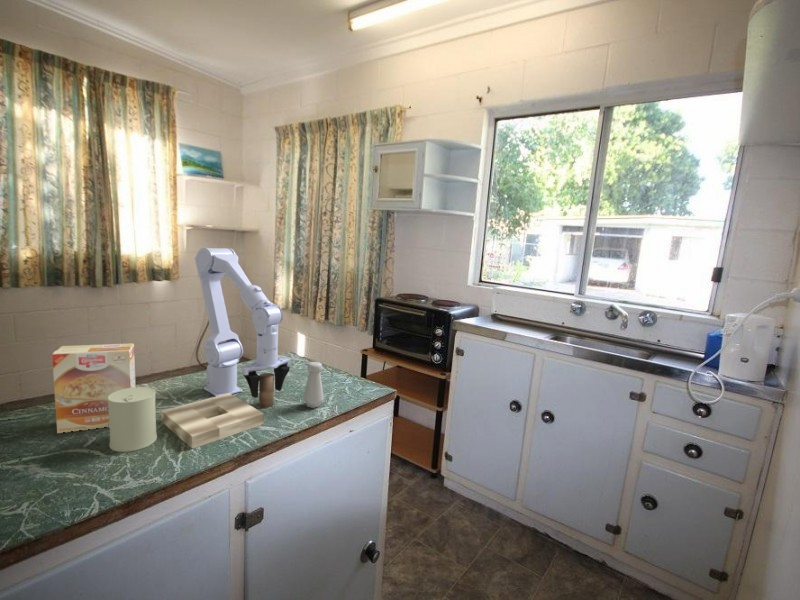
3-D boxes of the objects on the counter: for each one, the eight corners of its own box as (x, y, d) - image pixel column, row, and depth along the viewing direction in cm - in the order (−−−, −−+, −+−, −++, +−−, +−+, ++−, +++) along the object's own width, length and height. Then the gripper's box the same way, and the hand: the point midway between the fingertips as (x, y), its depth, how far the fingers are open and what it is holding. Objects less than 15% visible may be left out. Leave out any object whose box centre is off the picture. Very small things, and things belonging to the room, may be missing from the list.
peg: (256, 404, 117) (256, 375, 115) (268, 401, 120) (269, 372, 118) (263, 409, 114) (264, 378, 113) (276, 405, 117) (276, 375, 116)
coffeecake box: (56, 434, 94) (50, 353, 91) (65, 420, 100) (60, 345, 97) (132, 425, 100) (129, 349, 97) (137, 413, 107) (134, 342, 104)
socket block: (161, 421, 103) (161, 410, 102) (229, 402, 117) (229, 392, 116) (192, 448, 92) (192, 436, 91) (263, 424, 105) (263, 413, 105)
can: (105, 455, 87) (103, 402, 85) (112, 435, 95) (110, 387, 93) (155, 447, 91) (154, 397, 89) (158, 429, 99) (157, 382, 97)
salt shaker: (318, 410, 116) (320, 367, 114) (300, 407, 117) (301, 364, 115) (326, 402, 121) (328, 361, 119) (308, 400, 122) (309, 359, 120)
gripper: (251, 355, 106) (250, 404, 108) (297, 346, 117) (295, 390, 119) (237, 349, 111) (237, 396, 113) (283, 341, 122) (282, 384, 124)
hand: (266, 393), depth 116 cm, fingers open, 7 cm apart
